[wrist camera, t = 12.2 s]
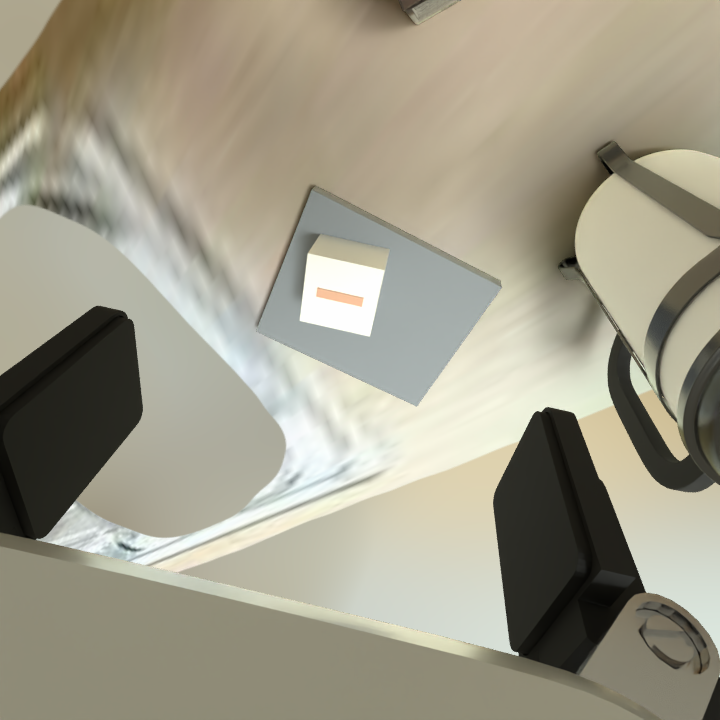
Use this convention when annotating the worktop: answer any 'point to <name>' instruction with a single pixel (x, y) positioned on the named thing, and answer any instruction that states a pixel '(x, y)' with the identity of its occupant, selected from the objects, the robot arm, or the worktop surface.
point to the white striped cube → (343, 284)
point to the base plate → (381, 303)
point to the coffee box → (424, 8)
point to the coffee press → (660, 299)
